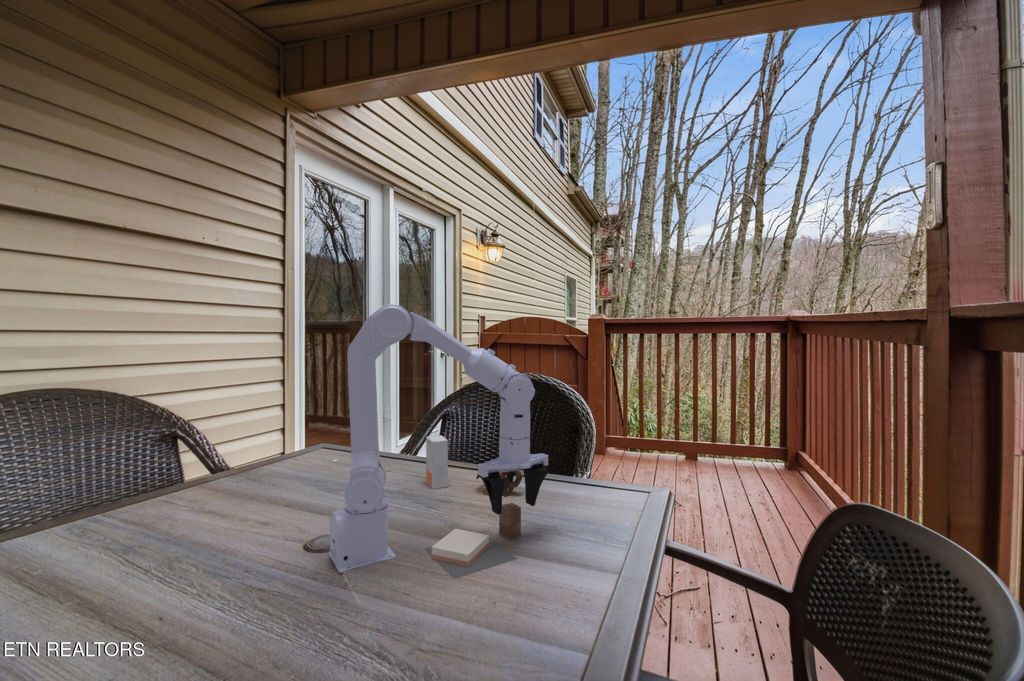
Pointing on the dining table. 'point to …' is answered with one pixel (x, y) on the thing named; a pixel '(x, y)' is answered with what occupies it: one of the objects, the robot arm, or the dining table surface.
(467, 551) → the whetstone
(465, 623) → the dining table surface
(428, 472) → the skincare box
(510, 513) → the walnut block
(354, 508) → the robot arm
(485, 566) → the mat
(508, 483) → the pottery mug
